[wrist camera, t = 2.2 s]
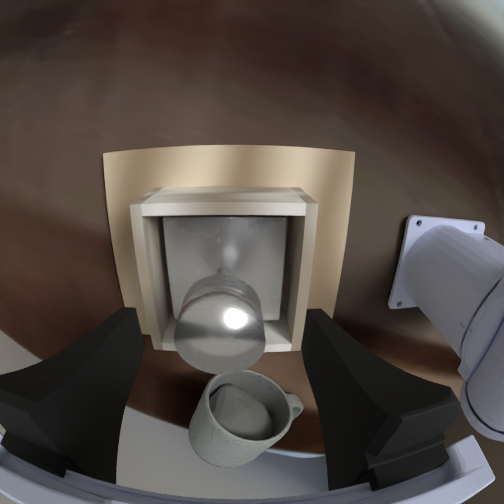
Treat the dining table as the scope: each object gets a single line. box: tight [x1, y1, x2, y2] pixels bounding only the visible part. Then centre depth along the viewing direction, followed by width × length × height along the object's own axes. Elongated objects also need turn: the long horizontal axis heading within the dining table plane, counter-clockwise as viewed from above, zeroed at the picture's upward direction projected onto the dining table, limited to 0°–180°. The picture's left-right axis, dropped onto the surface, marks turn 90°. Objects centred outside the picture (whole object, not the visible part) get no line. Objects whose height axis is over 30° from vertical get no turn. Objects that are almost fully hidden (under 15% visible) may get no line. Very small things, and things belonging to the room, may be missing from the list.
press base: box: [103, 145, 355, 352], centre depth 17 cm, size 16×14×5 cm
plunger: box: [163, 215, 287, 375], centre depth 14 cm, size 7×7×6 cm
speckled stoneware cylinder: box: [189, 369, 303, 468], centre depth 22 cm, size 11×8×8 cm
